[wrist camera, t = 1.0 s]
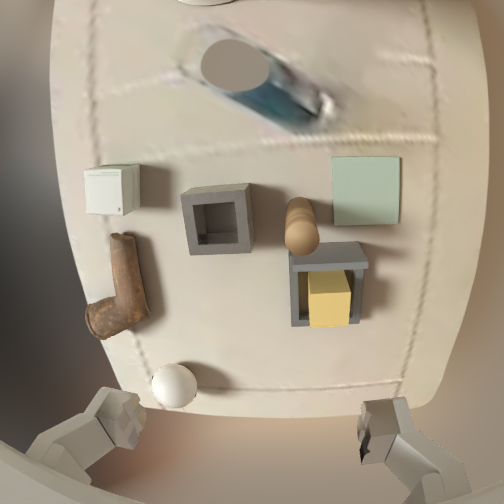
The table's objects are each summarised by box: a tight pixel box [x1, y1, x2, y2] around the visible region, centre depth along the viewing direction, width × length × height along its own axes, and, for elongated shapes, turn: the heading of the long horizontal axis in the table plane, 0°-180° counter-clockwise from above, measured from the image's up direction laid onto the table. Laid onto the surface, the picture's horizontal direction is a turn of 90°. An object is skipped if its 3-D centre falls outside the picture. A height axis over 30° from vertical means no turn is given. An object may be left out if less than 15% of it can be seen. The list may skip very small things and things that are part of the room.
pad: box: [332, 157, 399, 226], centre depth 34 cm, size 8×8×1 cm
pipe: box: [85, 233, 151, 340], centre depth 41 cm, size 6×17×10 cm
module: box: [308, 270, 351, 328], centre depth 37 cm, size 4×4×6 cm
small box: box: [84, 164, 141, 216], centre depth 35 cm, size 6×6×5 cm
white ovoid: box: [151, 364, 197, 412], centre depth 46 cm, size 10×7×7 cm
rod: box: [285, 197, 319, 256], centre depth 31 cm, size 3×3×10 cm
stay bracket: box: [180, 183, 255, 255], centre depth 35 cm, size 7×7×4 cm
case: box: [289, 241, 369, 327], centre depth 36 cm, size 11×9×6 cm
